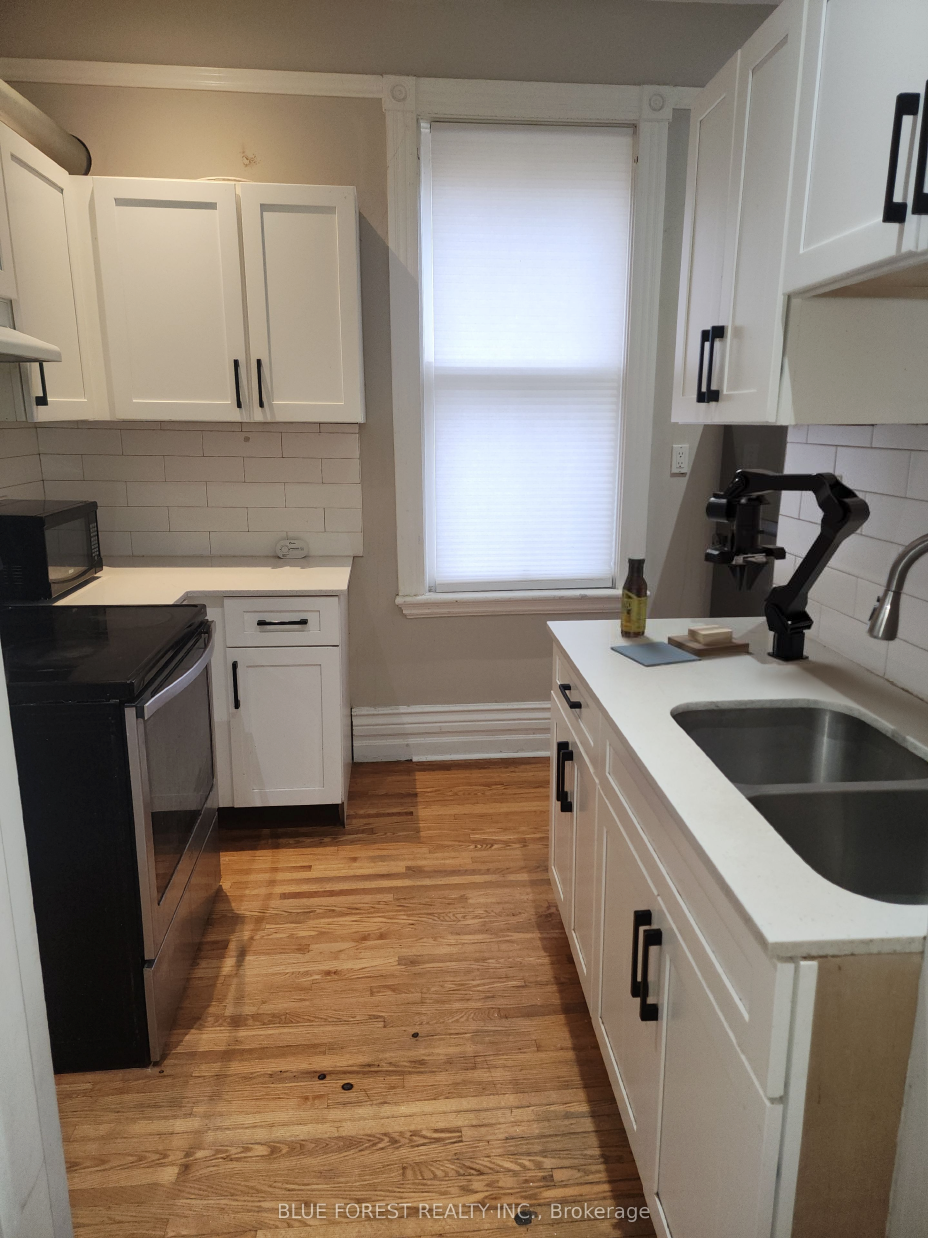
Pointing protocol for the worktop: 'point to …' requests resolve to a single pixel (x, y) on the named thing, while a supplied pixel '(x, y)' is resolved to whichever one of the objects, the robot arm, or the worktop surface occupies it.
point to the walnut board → (708, 646)
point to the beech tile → (710, 634)
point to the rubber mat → (655, 653)
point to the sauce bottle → (634, 599)
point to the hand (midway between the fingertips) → (743, 590)
